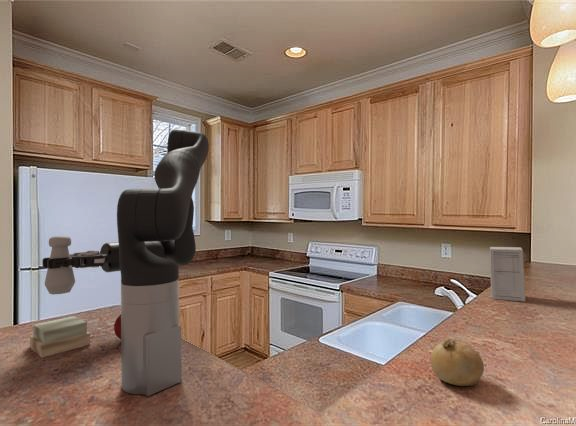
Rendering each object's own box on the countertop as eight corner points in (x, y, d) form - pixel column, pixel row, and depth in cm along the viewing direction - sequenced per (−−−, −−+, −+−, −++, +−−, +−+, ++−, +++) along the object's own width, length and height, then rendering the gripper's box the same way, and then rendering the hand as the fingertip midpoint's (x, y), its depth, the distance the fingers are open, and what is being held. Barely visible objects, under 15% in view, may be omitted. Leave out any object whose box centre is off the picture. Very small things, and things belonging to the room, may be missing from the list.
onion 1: (130, 347, 71) (130, 311, 72) (107, 346, 73) (107, 309, 73) (147, 338, 77) (147, 304, 77) (126, 336, 78) (126, 303, 79)
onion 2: (438, 366, 60) (437, 327, 61) (488, 378, 55) (486, 336, 56) (425, 383, 54) (423, 340, 54) (479, 399, 49) (478, 351, 49)
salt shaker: (49, 296, 71) (49, 237, 72) (40, 293, 75) (40, 236, 75) (79, 291, 76) (79, 235, 76) (69, 288, 80) (69, 235, 80)
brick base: (90, 344, 74) (90, 322, 74) (41, 357, 67) (41, 333, 67) (75, 335, 80) (75, 315, 80) (29, 347, 73) (30, 324, 73)
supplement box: (523, 296, 112) (522, 247, 112) (526, 302, 104) (524, 249, 104) (490, 293, 117) (489, 246, 117) (490, 298, 109) (489, 248, 109)
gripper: (112, 241, 91) (36, 245, 78) (136, 242, 82) (55, 247, 69) (112, 268, 91) (36, 277, 78) (136, 272, 82) (55, 283, 69)
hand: (45, 263), depth 74 cm, fingers closed on salt shaker, 3 cm apart
